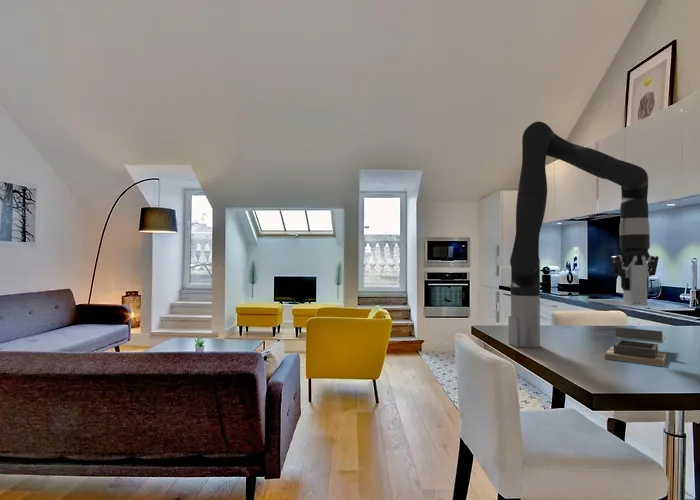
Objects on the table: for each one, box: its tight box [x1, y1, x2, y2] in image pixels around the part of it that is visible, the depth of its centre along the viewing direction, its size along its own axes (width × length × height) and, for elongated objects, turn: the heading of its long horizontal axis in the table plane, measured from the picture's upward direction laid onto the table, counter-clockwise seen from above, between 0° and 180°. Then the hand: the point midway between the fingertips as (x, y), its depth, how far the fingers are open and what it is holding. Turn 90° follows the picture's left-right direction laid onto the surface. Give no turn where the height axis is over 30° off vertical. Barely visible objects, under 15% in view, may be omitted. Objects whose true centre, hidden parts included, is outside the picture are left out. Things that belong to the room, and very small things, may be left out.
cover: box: [615, 326, 666, 344], centre depth 135 cm, size 12×12×4 cm
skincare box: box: [622, 265, 648, 307], centre depth 126 cm, size 6×4×12 cm
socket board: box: [604, 339, 668, 367], centre depth 126 cm, size 14×14×4 cm
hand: (634, 290), depth 126 cm, fingers closed on skincare box, 5 cm apart
